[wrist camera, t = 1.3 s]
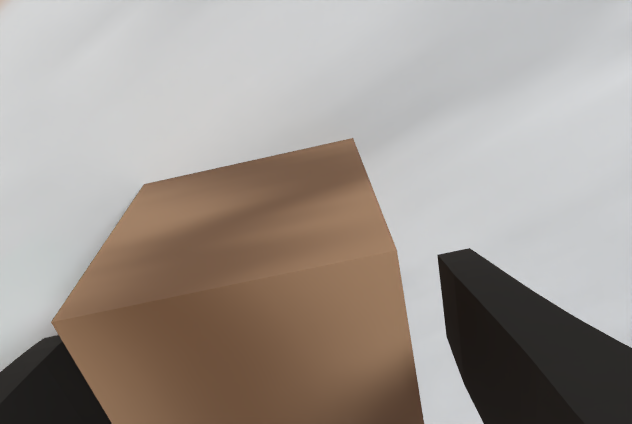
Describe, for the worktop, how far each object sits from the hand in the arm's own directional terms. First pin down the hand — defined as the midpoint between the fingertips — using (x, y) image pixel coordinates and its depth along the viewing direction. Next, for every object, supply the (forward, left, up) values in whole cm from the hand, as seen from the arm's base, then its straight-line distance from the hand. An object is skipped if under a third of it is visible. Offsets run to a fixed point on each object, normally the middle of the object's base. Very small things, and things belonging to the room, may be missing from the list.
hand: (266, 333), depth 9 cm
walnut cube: (0, 0, -3) cm, 3 cm away
